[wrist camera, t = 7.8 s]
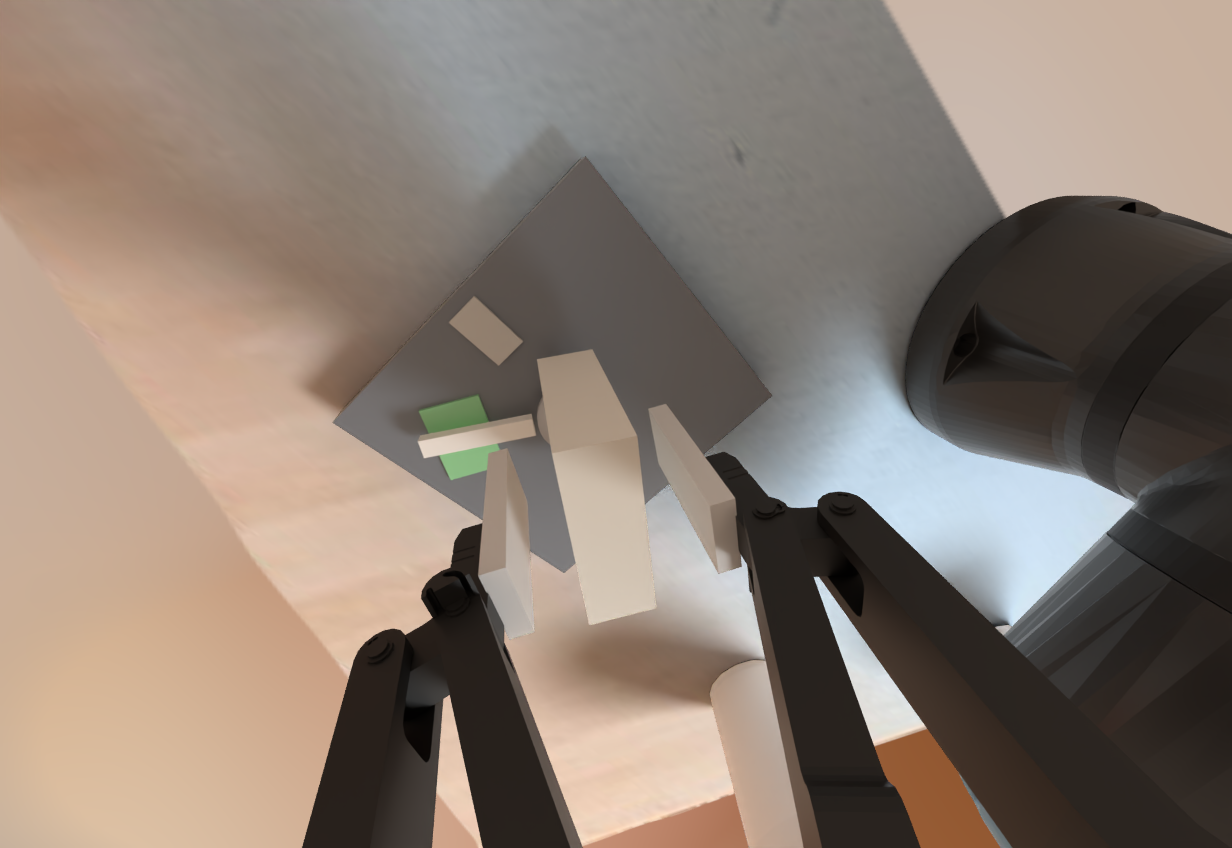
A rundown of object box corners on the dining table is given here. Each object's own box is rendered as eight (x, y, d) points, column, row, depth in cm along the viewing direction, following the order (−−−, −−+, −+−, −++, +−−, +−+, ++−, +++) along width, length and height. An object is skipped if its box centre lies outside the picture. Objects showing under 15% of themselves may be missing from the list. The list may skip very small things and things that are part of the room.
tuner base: (580, 158, 20) (586, 155, 18) (759, 385, 26) (774, 396, 25) (342, 408, 22) (330, 424, 21) (561, 555, 29) (564, 575, 28)
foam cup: (703, 653, 37) (790, 862, 25) (806, 640, 39) (929, 828, 27) (685, 726, 41) (752, 933, 29) (778, 710, 43) (875, 899, 31)
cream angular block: (400, 369, 20) (318, 501, 12) (598, 334, 22) (658, 431, 13) (446, 494, 24) (409, 671, 15) (615, 458, 25) (672, 604, 16)
